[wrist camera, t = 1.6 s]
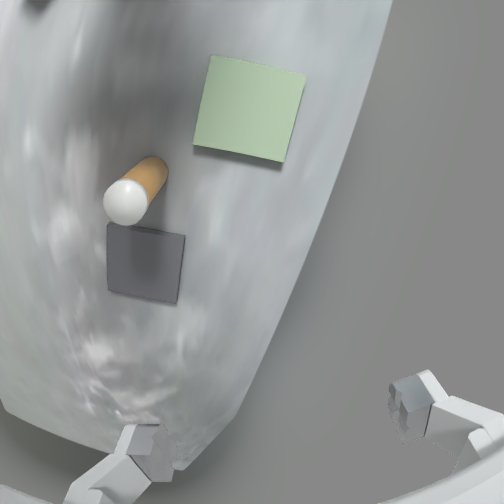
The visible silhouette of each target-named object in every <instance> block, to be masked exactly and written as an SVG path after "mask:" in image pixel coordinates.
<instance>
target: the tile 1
mask: <svg viewBox="0 0 504 504" xmlns="http://www.w3.org/2000/svg"><path fill="white" fill-rule="evenodd" d="M184 241H185V235H180V234H174V233H168V232H163V231H157V230H151V229H146V228H140V227H134V226H124V225H119V224H117V223H112V222H110V223H109V224H108V225H107V281H108V290H110V291H114V292H119V293H124V294H129V295H134V296H139V297H144V298H149V299H154V300H159V301H165V302H170V303H176V302H177V296H178V287H179V279H180V271H181V263H182V255H183V248H184Z"/></svg>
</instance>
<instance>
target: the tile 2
mask: <svg viewBox="0 0 504 504" xmlns="http://www.w3.org/2000/svg"><path fill="white" fill-rule="evenodd" d="M305 80H306V76H305V75H301V74H298V73H294V72H291V71H287V70H283V69H279V68H275V67H271V66H267V65H262V64H258V63H253V62H249V61H244V60H239V59H233V58H228V57H222V56H216V55H212V56H211V60H210V64H209V68H208V72H207V77H206V81H205V85H204V90H203V94H202V99H201V104H200V109H199V113H198V118H197V123H196V128H195V134H194V139H193V145H199V146H205V147H211V148H216V149H222V150H227V151H232V152H237V153H242V154H247V155H252V156H256V157H261V158H266V159H270V160H275V161H279V162H284V159H285V155H286V151H287V148H288V144H289V140H290V136H291V133H292V129H293V125H294V122H295V118H296V114H297V110H298V107H299V103H300V99H301V95H302V92H303V88H304V84H305Z"/></svg>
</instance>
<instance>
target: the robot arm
mask: <svg viewBox="0 0 504 504" xmlns="http://www.w3.org/2000/svg"><path fill="white" fill-rule="evenodd" d="M389 392H390V394H391V397H390V398H389V399H388V408H389V414H390V417H391V419H392V422H393V423H395V424H397V425H398V426H397V433H398V435H399V437H400V439H401V441H402V444H405V443H408V442H411V441H413V440H416V439H419V438H422V437H424V436H425V438H426V439H427V440H429V441H431V442H433V443H434V444H436V445H438V446H439V447H441V448H442V449H444V450H445V451H447V452H449V453H450V454H452V455H454V456H456V457H457V458H459V459H458V461H457V463H456V465H455V467H454V469H453V471H452V475H450V476H448V477H446V478H444V479H441V480H439V481H437V482H435V483H433V484H430V485H428V486H425V487H423V488H420V489H418V490H416V491H413V492H410V493H407V494H405V495H402V496H399V497H396V498H394V499H391V500H388V501H384V502H381V503H378V504H504V415H503V414H501V413H498V412H495V411H493V410H490V409H487V408H484V407H481V406H479V405H476V404H473V403H471V402H468V401H465V400H462V399H460V398H457V397H454V396H450V397H448V395H447V394H446V392H445V391H444V389H443V388H442V387H441V385H440V384H439V382H438V381H437V380H436V378H435V377H434V375H433V374H432V373H431V371H429V370H425V371H423V372H420V373H418V374H415V375H412V376H410V377H407V378H404V379H401V380H398V381H395V382H392V383H390V385H389ZM167 431H168V430H167V428H166V427H165V425H164V424H127V425H126V426H125V427H124V429H123V431H122V434H121V436H120V439H119V441H118V444H117V446H116V449H115V451H114V454H110V455H108V456H107V457H106V458H105V459H103V460H102V461H101V462H99V463H98V464H97V465H95V466H94V467H93V468H92V469H90V470H89V471H88V472H86V473H85V474H84V475H82V476H81V477H80V478H78V479H77V480H76V481H74V482H73V483H72V484H71V486H70V488H69V490H68V493H67V495H66V497H65V500H64V502H63V504H133V503H134V501H135V500H136V499H137V498H138V497H139V496H140V495H141V494H142V493H143V491H144V490H145V489H146V488H147V487H148V486H149V485H150V484H151V481H157V482H158V481H159V482H160V481H161V482H171V481H172V476H173V472H174V467H173V466H172V463H173V462H174V461H175V460H176V457H177V446H176V443H175V441H174V439H173V437H171V436H169V435H168V434H167ZM0 504H53V503H50V502H47V501H44V500H41V499H39V498H36V497H33V496H30V495H28V494H25V493H23V492H20V491H18V490H15V489H13V488H11V487H8V486H6V485H2V484H0Z"/></svg>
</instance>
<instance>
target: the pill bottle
mask: <svg viewBox="0 0 504 504" xmlns="http://www.w3.org/2000/svg"><path fill="white" fill-rule="evenodd" d="M167 178H168V168H167V165H166V164H165V162H164V161H163V160H162V159H160V158H158V157H155V156H150V157H146V158H144V159H143V160H141V161H140V162H139V163H138V164H137V165H135V166H134V167H133V168H132V169H131V170H130V171H128V172H127V173H126V174H125V175H124V176H123V177H121V178H120V179H119V180H118V181H116V182H115V183H113V184H112V185H111V186H110V187H109V188H108V189H107V190H106V192H105V194H104V197H103V207H104V210H105V212H106V214H107V216H108V217H109V218H110V219H111V220H112V221H113V222H115V223H117V224H119V225H124V226H129V225H133V224H135V223H137V222H138V221H139V220H140V219H141V218H142V217H143V215H144V214H145V212H146V211H147V209H148V206H149V205H150V203H151V202H152V200H153V199H154V197H155V196H156V194H157V193H158V192H159V190H160V189H161V187H162V186H163V184H164V183H165V182H166V180H167Z"/></svg>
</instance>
